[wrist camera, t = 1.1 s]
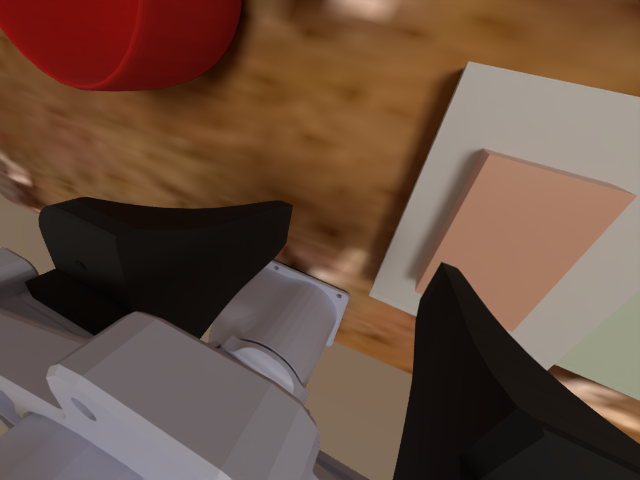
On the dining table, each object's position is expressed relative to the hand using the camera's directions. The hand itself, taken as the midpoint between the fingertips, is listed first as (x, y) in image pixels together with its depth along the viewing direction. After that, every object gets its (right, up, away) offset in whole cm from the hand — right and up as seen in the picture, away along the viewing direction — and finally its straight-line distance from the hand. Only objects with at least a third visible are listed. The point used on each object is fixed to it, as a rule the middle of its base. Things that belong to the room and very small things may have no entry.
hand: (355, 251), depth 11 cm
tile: (+9, +1, +5) cm, 10 cm away
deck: (+11, +2, +7) cm, 13 cm away
